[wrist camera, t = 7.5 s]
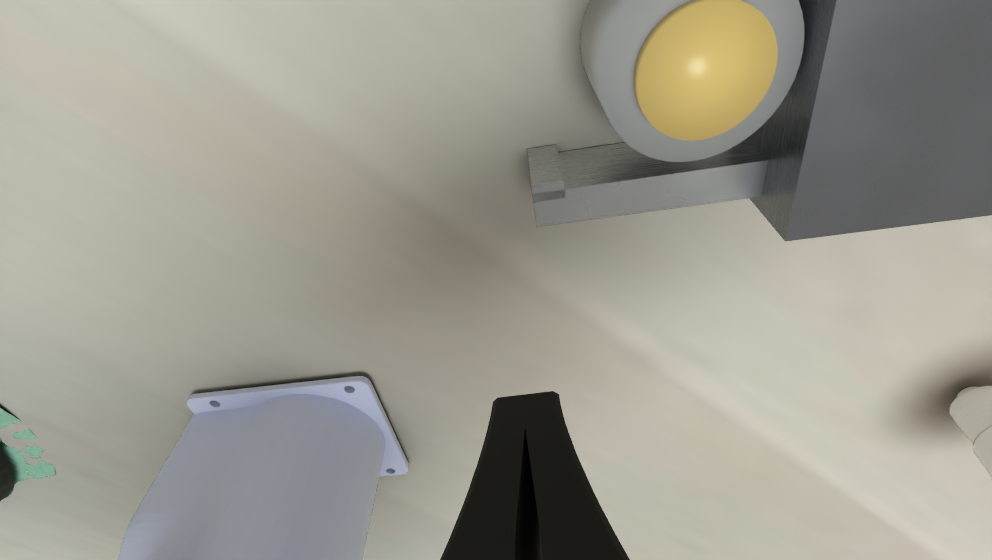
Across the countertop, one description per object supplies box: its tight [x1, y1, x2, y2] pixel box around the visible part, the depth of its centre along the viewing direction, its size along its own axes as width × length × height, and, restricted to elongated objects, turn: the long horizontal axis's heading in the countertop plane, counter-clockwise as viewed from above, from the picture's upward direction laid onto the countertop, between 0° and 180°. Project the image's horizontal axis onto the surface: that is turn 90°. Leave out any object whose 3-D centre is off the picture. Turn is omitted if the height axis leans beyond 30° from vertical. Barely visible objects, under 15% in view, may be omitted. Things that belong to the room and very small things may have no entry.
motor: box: [527, 0, 992, 241], centre depth 13 cm, size 16×10×5 cm, turn 99°
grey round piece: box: [580, 0, 804, 162], centre depth 14 cm, size 5×5×4 cm
